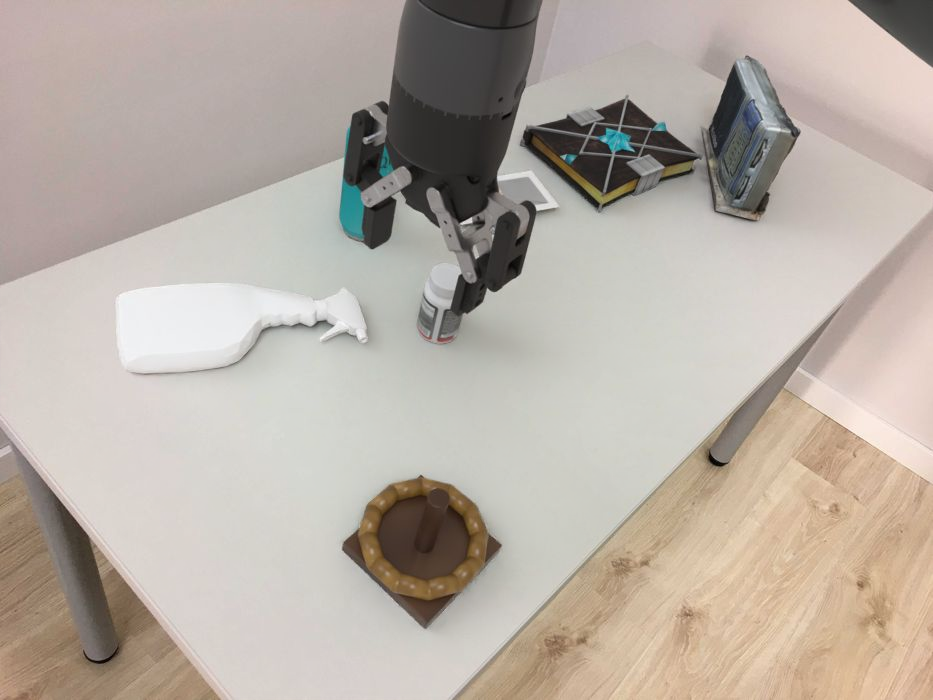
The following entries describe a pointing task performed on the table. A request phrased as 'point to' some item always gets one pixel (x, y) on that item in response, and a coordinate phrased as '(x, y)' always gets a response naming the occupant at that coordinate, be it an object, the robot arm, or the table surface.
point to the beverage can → (356, 200)
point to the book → (610, 151)
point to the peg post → (421, 547)
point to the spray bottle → (216, 323)
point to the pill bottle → (439, 305)
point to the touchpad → (524, 191)
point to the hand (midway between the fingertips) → (419, 275)
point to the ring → (409, 583)
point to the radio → (747, 141)
